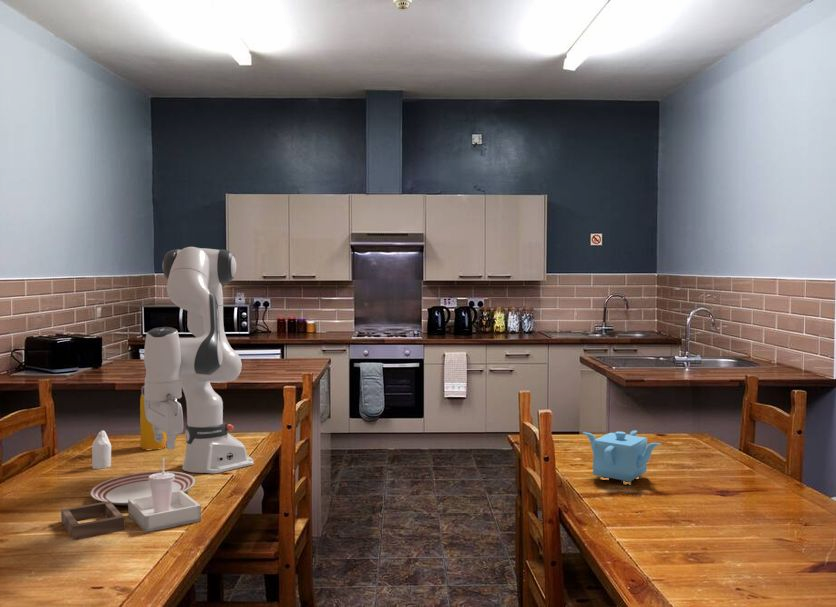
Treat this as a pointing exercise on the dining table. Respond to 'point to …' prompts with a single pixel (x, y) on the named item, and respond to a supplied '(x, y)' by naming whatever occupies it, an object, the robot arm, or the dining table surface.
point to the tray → (179, 514)
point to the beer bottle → (148, 431)
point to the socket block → (94, 527)
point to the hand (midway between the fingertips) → (164, 444)
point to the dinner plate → (135, 487)
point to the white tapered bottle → (101, 451)
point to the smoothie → (161, 489)
